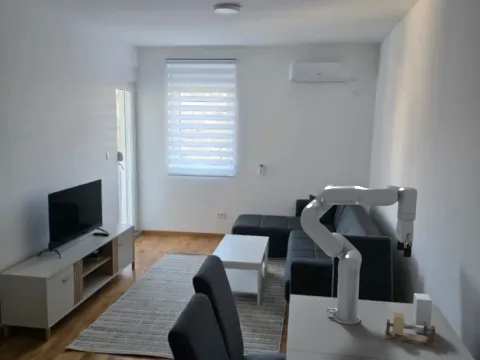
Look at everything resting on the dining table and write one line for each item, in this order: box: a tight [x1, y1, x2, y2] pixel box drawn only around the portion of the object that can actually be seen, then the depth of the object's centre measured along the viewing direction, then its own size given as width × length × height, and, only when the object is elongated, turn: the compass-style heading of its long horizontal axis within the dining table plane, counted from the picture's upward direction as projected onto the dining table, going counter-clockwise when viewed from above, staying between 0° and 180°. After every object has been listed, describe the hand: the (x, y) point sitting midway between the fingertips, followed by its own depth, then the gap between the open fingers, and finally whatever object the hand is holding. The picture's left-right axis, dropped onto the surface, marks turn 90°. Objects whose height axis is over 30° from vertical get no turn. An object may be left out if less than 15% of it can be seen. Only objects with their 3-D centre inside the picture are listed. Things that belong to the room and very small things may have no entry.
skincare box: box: [412, 292, 433, 335], centre depth 200 cm, size 8×7×16 cm
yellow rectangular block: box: [392, 311, 405, 334], centre depth 192 cm, size 4×5×7 cm
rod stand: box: [384, 319, 437, 348], centre depth 191 cm, size 20×6×8 cm, turn 74°
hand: (403, 253), depth 198 cm, fingers open, 9 cm apart
